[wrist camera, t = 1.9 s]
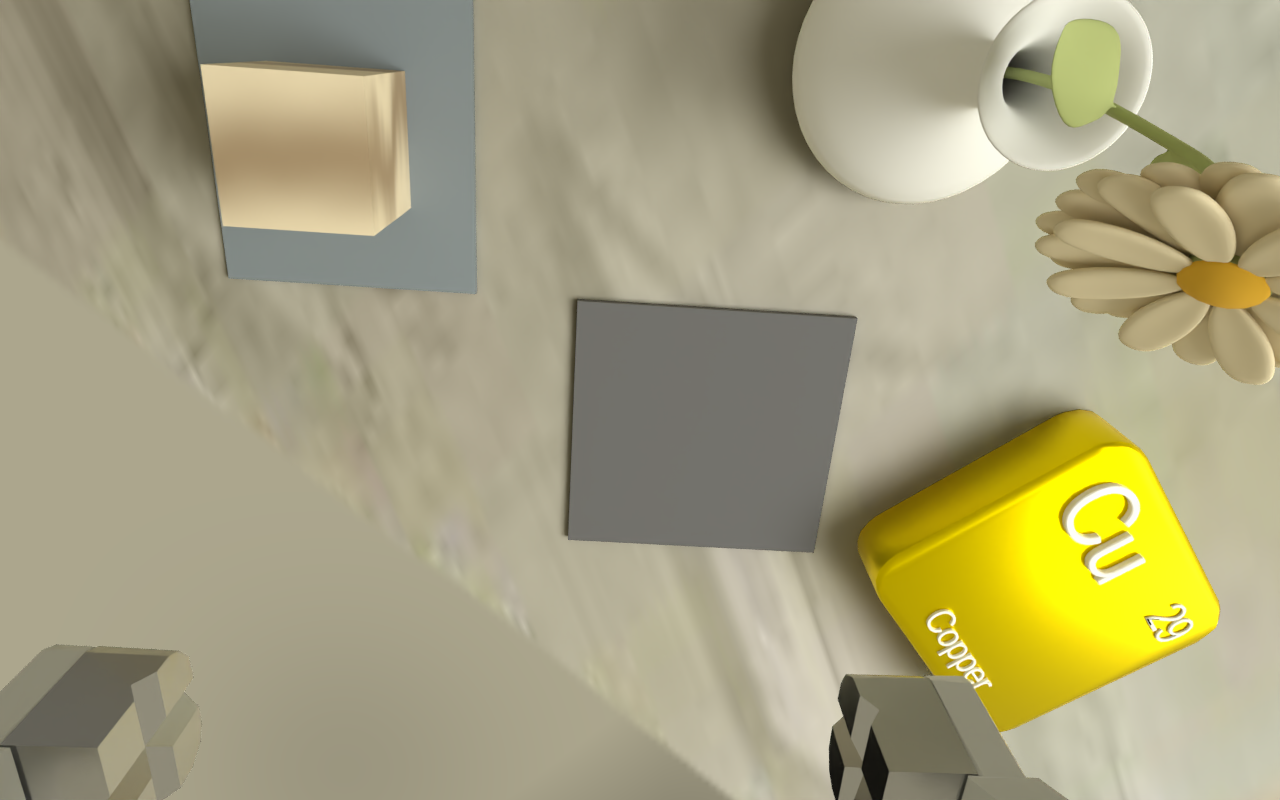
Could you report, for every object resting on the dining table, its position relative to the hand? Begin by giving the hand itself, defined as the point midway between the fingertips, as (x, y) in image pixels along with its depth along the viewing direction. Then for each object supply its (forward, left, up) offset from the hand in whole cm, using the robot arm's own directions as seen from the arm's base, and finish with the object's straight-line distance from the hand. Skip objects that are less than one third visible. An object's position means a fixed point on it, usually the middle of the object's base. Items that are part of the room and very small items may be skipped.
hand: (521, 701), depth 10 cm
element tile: (+18, +25, -32) cm, 44 cm away
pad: (+11, +6, -31) cm, 34 cm away
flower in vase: (-7, +14, -31) cm, 35 cm away
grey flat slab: (-3, -12, -31) cm, 33 cm away
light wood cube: (-3, -12, -31) cm, 33 cm away
